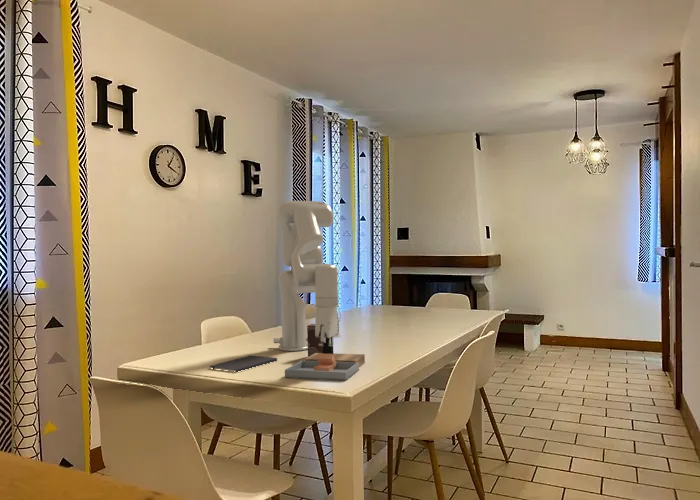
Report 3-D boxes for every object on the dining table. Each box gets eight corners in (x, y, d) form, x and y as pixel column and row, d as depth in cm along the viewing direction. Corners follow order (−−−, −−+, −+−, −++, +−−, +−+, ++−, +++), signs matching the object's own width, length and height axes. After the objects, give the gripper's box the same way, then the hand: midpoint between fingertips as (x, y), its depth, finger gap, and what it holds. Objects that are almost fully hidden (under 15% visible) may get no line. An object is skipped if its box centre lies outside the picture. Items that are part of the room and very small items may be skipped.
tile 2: (321, 362, 188) (320, 367, 186) (318, 353, 184) (317, 358, 183) (336, 363, 186) (335, 368, 185) (333, 353, 183) (331, 358, 182)
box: (307, 358, 207) (306, 325, 207) (311, 355, 211) (311, 323, 211) (322, 358, 205) (322, 325, 205) (327, 356, 210) (326, 324, 210)
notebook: (236, 374, 186) (277, 362, 204) (236, 369, 186) (277, 357, 204) (208, 370, 192) (250, 359, 210) (208, 366, 192) (250, 355, 210)
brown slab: (304, 367, 191) (304, 359, 191) (315, 361, 201) (315, 352, 201) (356, 369, 186) (356, 360, 185) (364, 363, 196) (364, 354, 196)
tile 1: (319, 363, 185) (319, 369, 185) (314, 366, 180) (314, 373, 180) (333, 364, 183) (333, 370, 183) (328, 367, 179) (329, 373, 179)
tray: (284, 377, 177) (284, 369, 177) (301, 367, 191) (301, 360, 191) (346, 380, 171) (346, 372, 171) (358, 370, 185) (358, 362, 185)
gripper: (323, 300, 194) (324, 353, 194) (308, 304, 180) (309, 362, 180) (344, 300, 192) (345, 354, 192) (330, 304, 178) (332, 363, 178)
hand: (328, 358), depth 186 cm, fingers closed
